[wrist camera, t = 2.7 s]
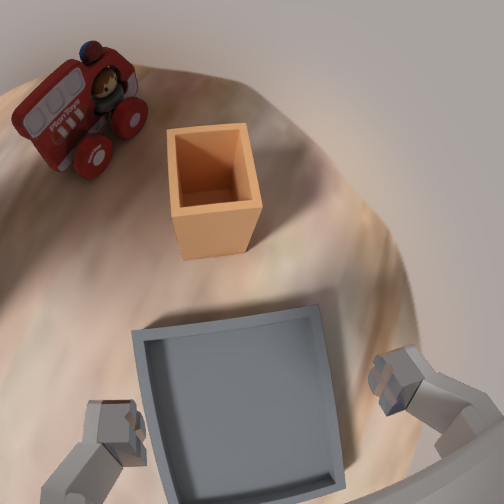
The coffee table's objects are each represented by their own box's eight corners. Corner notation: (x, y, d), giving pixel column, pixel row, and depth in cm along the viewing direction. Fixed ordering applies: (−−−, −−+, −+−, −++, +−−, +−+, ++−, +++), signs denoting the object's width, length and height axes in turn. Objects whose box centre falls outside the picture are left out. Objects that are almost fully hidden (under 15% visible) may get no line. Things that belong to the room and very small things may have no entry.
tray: (334, 478, 21) (346, 488, 19) (176, 507, 19) (174, 521, 17) (308, 308, 25) (318, 303, 23) (138, 332, 23) (131, 330, 21)
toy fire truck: (162, 108, 29) (153, 28, 19) (82, 200, 25) (33, 133, 16) (116, 88, 30) (98, 15, 20) (39, 170, 26) (-8, 106, 16)
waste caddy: (244, 253, 26) (262, 207, 17) (183, 260, 25) (171, 217, 17) (234, 187, 28) (245, 122, 19) (177, 193, 27) (166, 129, 18)
